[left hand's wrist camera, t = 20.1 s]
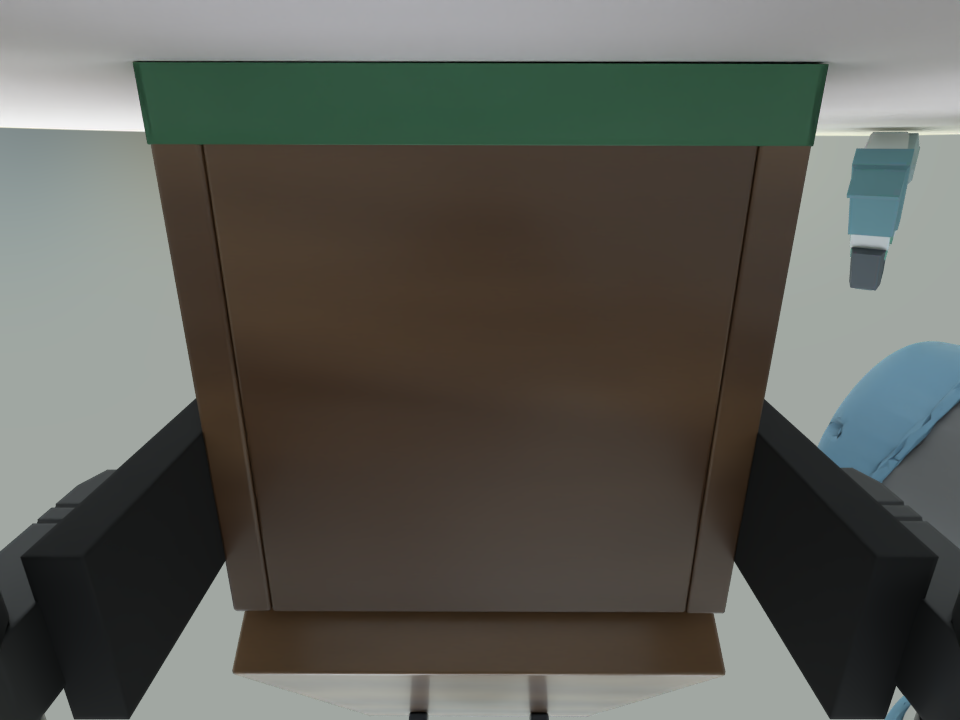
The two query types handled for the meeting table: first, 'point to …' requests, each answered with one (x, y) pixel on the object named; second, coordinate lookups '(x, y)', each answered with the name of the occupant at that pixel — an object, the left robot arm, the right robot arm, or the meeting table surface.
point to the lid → (478, 659)
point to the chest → (480, 321)
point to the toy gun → (878, 201)
